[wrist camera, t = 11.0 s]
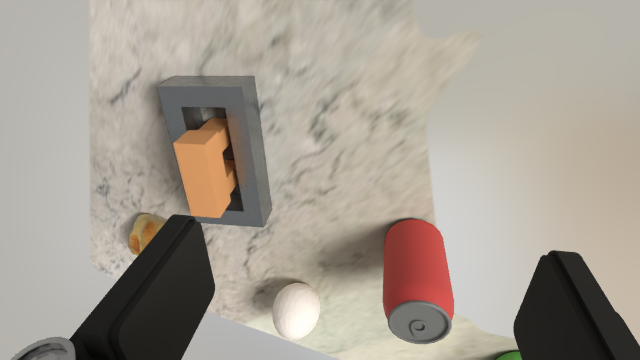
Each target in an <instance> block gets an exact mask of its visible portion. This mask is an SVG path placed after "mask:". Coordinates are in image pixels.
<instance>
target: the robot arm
mask: <svg viewBox="0 0 640 360" xmlns="http://www.w3.org/2000/svg"><path fill="white" fill-rule="evenodd" d="M214 292H215V283H214V279H213V274H212V270H211V266H210V261H209V257H208V253H207V248H206V244H205V239H204V235H203V231H202V226H201V223H200V222H198V221H196V219H195V218H194V217H193V216H187V215H176V214H174V215H172V216H171V217H170V218H169V219H168V220H167V221H166V223H165V224H164V225H163V226H162V228H161V229H160V230H159V231H158V232H157V234H156V235H155V236H154V237H153V238H152V240H151V241H150V242H149V243H148V245H147V246H146V247H145V248H144V249H143V251H142V252H141V253H140V254H139V255H138V257H137V258H136V259H135V260H134V261H133V263H132V264H131V265H130V266H129V268H128V269H127V270H126V271H125V272H124V274H123V275H122V276H121V277H120V278H119V280H118V281H117V282H116V283H115V285H114V286H113V287H112V288H111V289H110V291H109V292H108V293H107V294H106V295H105V297H104V298H103V299H102V300H101V302H100V303H99V304H98V305H97V306H96V308H95V309H94V310H93V311H92V312H91V314H90V315H89V316H88V317H87V318H86V320H85V321H84V322H83V323H82V325H81V326H80V327H79V328H78V329H77V331H76V332H75V333H74V334H73V336H72V337H71V338H70V339H69V340H68V339H66V338H62V337H52V338H47V339H44V340H40V341H37V342H35V343H33V344H31V345H29V346H27V347H26V348H24V349H23V350H21V351H20V352H19V353H17V354H16V355H15V356H14V357H13V358H12V359H11V360H181V359H182V357H183V355H184V353H185V351H186V349H187V347H188V345H189V343H190V341H191V339H192V337H193V335H194V333H195V331H196V329H197V327H198V326H199V323H200V322H201V320H202V318H203V316H204V314H205V312H206V310H207V308H208V306H209V304H210V302H211V300H212V298H213V296H214ZM514 336H515V339H516V342H517V345H518V349H519V352H520V355H521V358H522V360H640V346H639V344H638V343H637V341H636V340H635V338H634V336H633V335H632V333H631V332H630V330H629V328H628V327H627V325H626V323H625V322H624V320H623V319H622V318H621V316H620V315H619V314H618V313H617V312H615V310H614V309H613V307H612V305H611V304H610V302H609V301H608V299H607V297H606V296H605V294H604V292H603V291H602V289H601V288H600V286H599V284H598V283H597V281H596V279H595V278H594V276H593V275H592V273H591V272H590V270H589V268H588V267H587V265H586V263H585V262H584V260H583V258H582V257H581V256H580V255H579V254H578V253H575V252H565V251H555V250H553V251H550V252H549V253H548V255H543V256H542V257H541V258H540V260H539V262H538V265H537V267H536V270H535V272H534V275H533V277H532V280H531V282H530V285H529V287H528V289H527V292H526V294H525V297H524V299H523V302H522V304H521V306H520V309H519V311H518V314H517V316H516V319H515V321H514Z"/></svg>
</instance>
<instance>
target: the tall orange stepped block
mask: <svg viewBox="0 0 640 360" xmlns="http://www.w3.org/2000/svg"><path fill="white" fill-rule="evenodd" d="M230 143H231V137H230V132H229V126H228V121H227V118H211V119H210V120H208V121H207V122H206V123H205V124H204V125H203V126H202V127H201V128H199V129H198V130H188V131H187V132H186V133H185V134H183V135H182V136H181V137H180V138H179V139H178V140H176V141H175V142H174V143H173V145H174V149H175V153H176V156H177V160H178V164H179V168H180V172H181V176H182V180H183V184H184V188H185V192H186V196H187V200H188V204H189V208H190V212H191V216H200V217H212V218H220V217H221V216H222V214H223V212H224V211H225V209H226V208H227V206H228V205H229V203H230V202H231V199H230V193H231V192H232V191H233V189H234V188H235V186H236V185H237V183H238V182H239V181H238V176H237V170H236V165H235V160H223V155H222V152H223V151H224V150H225V149H226V147H227V146H228V145H229V144H230Z"/></svg>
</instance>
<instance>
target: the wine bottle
mask: <svg viewBox="0 0 640 360" xmlns="http://www.w3.org/2000/svg"><path fill="white" fill-rule="evenodd" d="M496 360H522V358H521V355H520V352H519V351H518V352H510V353H506V354H504V355H502V356H500V357H499V358H497V359H496Z"/></svg>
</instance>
